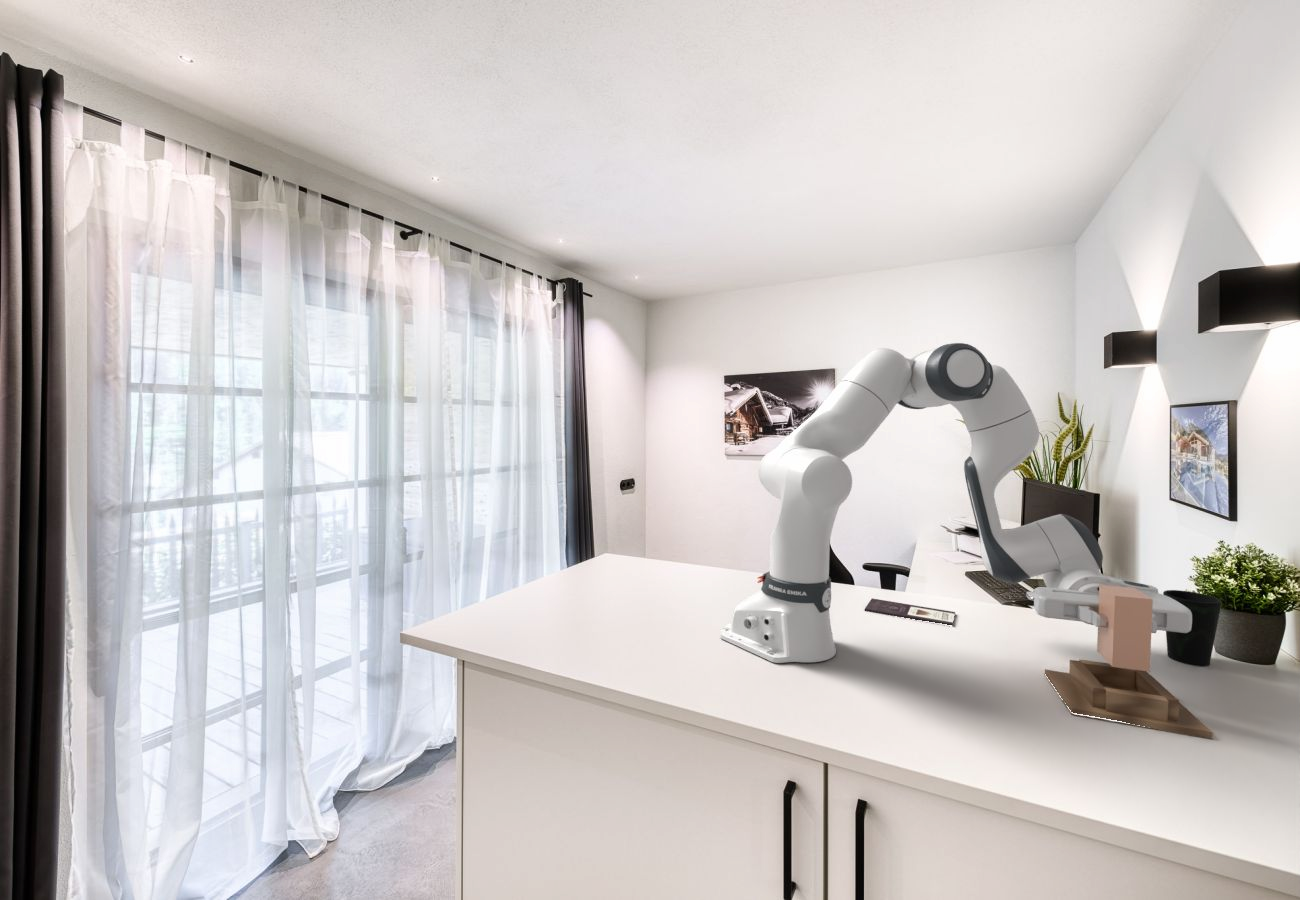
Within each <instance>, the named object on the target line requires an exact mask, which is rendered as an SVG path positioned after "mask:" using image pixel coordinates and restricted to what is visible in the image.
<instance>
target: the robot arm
mask: <svg viewBox="0 0 1300 900" xmlns="http://www.w3.org/2000/svg"><path fill="white" fill-rule="evenodd" d="M897 404H898V405H899V406H902V407H905V408H907V409H913V410H923V409H927V408H935V407H936V408H937V407H942V406H946V405H951V406H952V407H954V408H955V409H956V410H957V411H958V413H959V414H960V416H961V417H962V420H963V423H964V425H965V427H966V430H967V431H968V434H969V436H970V437H969V438H970V440H971V441H970V443H971V447H970V448H971V449H970V455H969V456H968V457H967V458H966V459H965V460H964V462H963V464H964V465H963V470H964V477H965V482H966V487H967V491H968V496H969V497H968V498H969V500H970V505H971V509H972V512H973V516H974V517H973V518H974V520H975V525H976V529H977V533H978V539H979V544H980V556H981V560H982V563H983V564H984V567H985V569H986V571H987V572H988V573H989V574H990V575H991V577H992V578H994V579H996V580H998V581H1000V582H1004V583H1006V584H1011V585H1016V584H1019V583H1021V582H1024V581H1027V580H1029V579H1031V578H1033V577H1038V576H1041V575H1042V580H1043V582H1044V584H1045V586H1038V587H1035V588H1034V590H1033V591H1026V593H1025V596H1026V597H1027V599H1028V600H1030V601H1033V608H1034V611H1035V612H1036V614H1037V615H1039V617H1043V618H1045V619H1046V618H1048V619H1054V620H1063V621H1064V620H1065V621H1073V622H1082V623H1084V624H1086V625H1089V626H1090V625H1091V626H1095V628H1098V627H1105V628H1107V627H1108V624H1107V622H1108V617H1107V616H1105V614H1101V613H1098V611H1099V585H1109V586H1120V587H1132V588H1136V589H1137V590H1139V591H1141V592H1142V593H1144V594H1145V595H1147V596H1148V597H1150V598H1152V599H1153V606H1152V630H1151V634H1156V633H1157V631H1164V632H1166V631H1171V632H1179V633H1188V632H1190V631H1191V627H1192V613H1191V611H1190V610H1189V609H1188V608H1187V607H1185V606H1184V605H1182V604H1181V603H1179V602H1177V601H1176V600H1174V599H1172V598H1170V597H1168V596H1166V595H1163V593H1159V589H1158V588H1157V587H1156V586H1154V585H1149V584H1145V583H1139V582H1132V581H1129V580H1123V579H1122V580H1121V579H1120V578H1116V577H1114V576H1111V575H1106V574H1105V575H1104V574H1103V573H1101V572H1100V571H1099V570H1101V568H1102V567H1103V562H1104V561H1103V560H1104V556H1103V551H1102V549H1101V547H1100V544H1099V542H1098V540H1097V538H1096V536H1095V535H1094V533H1093V532H1092V531H1091V529H1089V527H1088V526H1086V525H1085V524H1084V523H1083V522H1082V521H1080V520H1079V519H1076V518H1075V517H1072V516H1070V515H1068V514H1063V513H1059V514H1055V515H1051V516H1048V517H1045V518H1042V519H1038V520H1036V521H1033V522H1030V523H1026V524H1024V525H1020V526H1017V527H1013V528H1010V529H1006V530H1003V528H1002V523H1001V520H1000V519H1001V518H1000V516H999V511H998V509H997V508H998V507H997V504H996V503H997V502H996V499H995V491H996V488H997V486H998V485H999V484H1000V482H1001V481H1002V480H1003V479H1004V478H1005V477H1006V476H1007V475H1008V474H1009V473H1010V472H1012V471H1013V470H1014V469H1016V468H1017V467H1018V466H1020V465H1021V464H1022V463H1023V462H1025V461H1026V460H1027V459H1028V458H1029V457H1030V455H1031V454H1033V452H1034V450H1035V449H1036V447H1037V445H1038V443H1039V440H1040V439H1039V438H1040V429H1039V426H1038V423H1037V420H1036V418H1035V414H1034V413H1033V411H1032V409H1031V407H1030V405H1029V403H1028V401H1027V398H1026V397H1025V395H1024V393H1023V392H1022V390H1021V389H1020V388H1019V385H1018V384H1017V382H1015V380H1014V378H1013V377H1012V376H1011V375H1010V373H1009V372H1008V371H1007V369H1005V368H1004V367H1002V366H1001V365H996V364H992V363H991V362H989V361H988V359H987V358H986V356H985V355H984V354H983V353H982V352H981V351H980V350H979V349H978V348H977V347H975V346H972V345H971V344H968V343H963V342H953V343H946V344H943V345H941V346H939V347H936V348H934V349H930V350H926V351H923V352H920V353H918V354H916V355H914V356H912V357H910V358H907V357H906V356H904V355H903V354H902V353H900V352H898V351H897V350H894V349H892V348H888V347H887V348H885V347H882V348H876V349H874V350H872V351H870V352H868V353H867V354H866V355H865V356H864V357H863V358H862V359H860V360H859V361H858V362H857V363H856V364H855V365H854V366H853V367H852V368H851V369H850V370H849V371H848V372H847V373H846V374H845V375H844V376H843V377H842V379H841V380H840V381H839V382H838V384H837V385H836V386H835V387H834V389H833V390H832V391H831V392H830V394H829V395H828V396H827V397H826V398H825V400H824V401H823V402H822V403H821V404H820V405H819V407H818V408H817V409H816V410H815V411H814V412H813V414H811V415H810V416H809V417H808V418H807V419H806V420H805V421H803V423H802V424H801V425H799V426H798V427H797V428H796V429H794V431H792V432H791V433H790V434H789V435H787V437H786V438H785V439H784V440H783V441H782V442H780V443H779V444H778V445H777V446H776V447H775V448H774V449H772V450H770V451H768V452H767V453H766V454H764V456H763V457H762V459H761V460H760V462H759V465H758V469H757V470H758V472H757V473H758V478H759V481H760V484H761V485H762V486H763V488H765V490H766V491H767V492H768V493H769V494H770V495H772V496H773V497H775V498H777V499H780V501H781V502H780V509H779V513H778V516H777V517H778V518H777V521H776V525H775V527H774V528H773V530H772V531H771V533H770V535H769V538H770V540H769V545H770V547H769V571H767V572H765V573H763V574H762V575H761V576H757V583H758V584H760V583H762V585H761V588H760V589H759V590H757V591H755V593H753V594H751V595H750V596H749V597H747V598H745V599H743V600H742V601H740V603H738V604H737V605H736V607H735V608H734V611H733V615H732V620H731V622H730V623H728V624H726V625H725V626H723V628H722V629H721V631H720V633H719V634H720V636H719V637H720V638H719V639H721V640H724V641H725V642H727V643H730V644H731V645H735V646H737V647H739V648H742V650H745V651H747V652H749V653H752V654H754V655H755V656H759V657H761V658H763V659H765V660H767V661H769V662H772V663H775V664H784V663H794V662H795V663H817V662H818V663H819V662H824V661H828V660H830V659H832V658H834V656H835V655H836V654H837V648H836V644H835V640H834V637H833V632H832V631H833V630H832V625H831V618H830V617H831V616H830V615H831V614H830V609H831V602H832V578H831V577H830V576H829V575H830V551H831V550H830V546H831V545H830V544H831V537H832V531H833V528H834V525H835V524H834V523H835V521H836V517H837V514H838V511H839V508H840V507H841V506H842V504H843V503H844V502H845V501H846V500H847V499H848V497H849V495H850V493H851V491H852V487H853V476H852V473H851V470H850V468H849V466H848V465H847V464H846V463H845V461H844V459H845V458H846V457H848V456H850V455H851V454H853V453H855V452H857V451H859V450H860V449H862V448H863V447H864V446H865V445H866V443H867V442H868V441H869V439H871V437H872V436H873V435H874V433H875V432H876V431H877V430H878V428H880V426H881V425H882V423H883V422H884V421H885V420H886V419H887V418H888V416H889V415H890V414H891V412H892V411H893V410H894V408H895V406H896V405H897Z"/></svg>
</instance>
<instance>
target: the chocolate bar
mask: <svg viewBox="0 0 1300 900" xmlns="http://www.w3.org/2000/svg"><path fill="white" fill-rule="evenodd" d="M864 612H868V613H874V614H879V615H886V616H889V615H890V616H891V617H895V616H897V617H896V618H901V617H904V618H903V619H906V618H910V619H909V620H912V619H915V620H914V621H917V620H922V621H921V622H923V621H929V622H935V623H942V624H947V625H953V626H954V623H953V621H954V622H955V618H954V616H955V617H956V611H953V610H952V611H951V610H945V609H938V608H933V607H926V606H922V605H921V606H920V605H914V604H908V603H901V602H896V601H890V600H883V599H877V598H872V597H871V599H870V600H869V602H868V604H867V605H866V606H865V608H864Z"/></svg>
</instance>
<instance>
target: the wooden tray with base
mask: <svg viewBox="0 0 1300 900" xmlns="http://www.w3.org/2000/svg"><path fill="white" fill-rule="evenodd" d="M1045 674H1046V676H1047V677H1048V679H1049V680H1050V682H1051V683H1052V684H1053V686H1054V687H1055V689H1056V690H1057V692H1058V693H1059V695H1060V696H1061V698H1062V699H1063V701H1064V702H1065V703H1066V705H1067V706H1068V707H1069V709H1070V710H1071V712H1073V713H1077V714H1083V715H1089V716H1095V717H1100V718H1106V719H1111V720H1117V721H1122V722H1126V723H1130V724H1135V725H1140V726H1145V727H1150V728H1149V729H1151V728H1153V729H1152V730H1156V729H1158V731H1162V730H1163V731H1162V732H1167V733H1168V732H1170V733H1175V734H1181V735H1187V736H1193V737H1198V738H1202V739H1203V738H1204V739H1209V740H1213V734H1214V733H1213V731H1212V730H1211V729H1210V728H1209V727H1208V726H1207V725H1205V724H1204V723H1203V722H1202V721H1201V720H1200V719H1199V718H1197V717H1198V716H1196V715H1194V714H1193V713H1192V712H1191V711H1190V710H1189V709H1188V708H1187V707H1185V705H1183V704H1182V703H1181V702H1180V700H1179V699H1178V698H1177V697H1175V696H1174V695H1173V694H1172V693H1171V692H1170V691H1169V690H1168V689H1167V688H1166V687H1165V686H1164V685H1162V684H1161V682H1159V681H1158V680H1157V679H1156V678H1155V677H1153V676H1152V675H1151V674H1150V673H1149V671H1141V670H1134V669H1126V668H1119V667H1112V666H1111V665H1110V664H1109V663H1108V662H1102V661H1093V660H1085V659H1078V660H1075V659H1069V672H1064V671H1056V670H1050V669H1044V675H1045ZM1048 679H1047V680H1048ZM1050 682H1049V683H1050ZM1059 695H1058V696H1059ZM1061 698H1060V699H1061ZM1063 701H1062V702H1063ZM1145 727H1144V728H1145ZM1154 728H1155V729H1154Z"/></svg>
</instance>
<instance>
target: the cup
mask: <svg viewBox="0 0 1300 900" xmlns="http://www.w3.org/2000/svg"><path fill="white" fill-rule="evenodd" d="M1162 594H1163V595H1166V596H1168V597H1170V598H1172V599H1174V600H1176V601H1177V602H1179V603H1181V604H1182V605H1184V606H1185V607H1187V608H1188V609H1189V610H1190V611H1191V613H1192V627H1191V631H1190V632H1188V633H1179V632H1171V631H1165V637H1166V639H1165V640H1166V649H1167V651H1166V653H1167V657H1168V658H1169V659H1171V660H1174V661H1176V662H1178V663H1181V664H1185V665H1190V666H1195V667H1209V666H1210V664H1211V659H1212V656H1213V655H1212V653H1213V650H1214V646H1215V645H1214V643H1215V639H1216V634H1217V628H1218V624H1219V623H1218V622H1219V618H1220V613H1221V610H1222V609H1221V608H1222V603H1223V601H1222V600H1221V599H1220V598H1217V597H1215V596H1212V595H1208V594H1204V593H1199V592H1194V591H1187V590H1179V589H1169V590H1168V589H1167V590H1164V591H1163V592H1162Z"/></svg>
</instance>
